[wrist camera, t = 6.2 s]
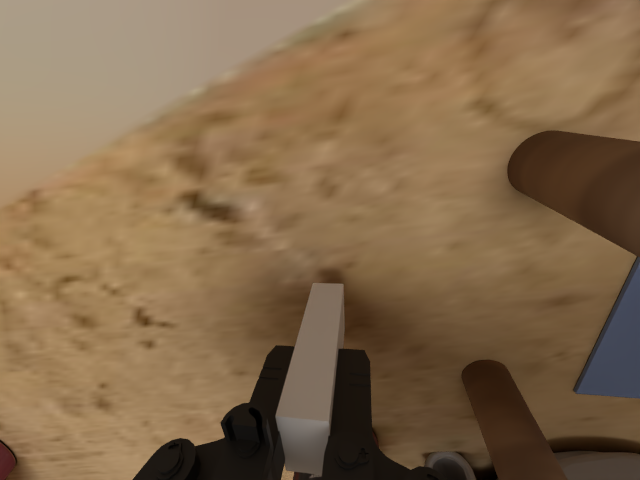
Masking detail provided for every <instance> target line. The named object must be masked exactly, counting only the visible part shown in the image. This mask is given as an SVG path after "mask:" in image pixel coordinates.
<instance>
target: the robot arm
mask: <svg viewBox="0 0 640 480" xmlns="http://www.w3.org/2000/svg"><path fill="white" fill-rule="evenodd" d="M344 332H345V315H344V284H335V283H313V284H312V288H311V291H310V295H309V298H308V302H307V305H306V309H305V313H304V316H303V320H302V323H301V327H300V330H299V334H298V337H297V341H296V345H295V347H293V346H277V345H276V346H275V347H274V348H273V349H272V351H271V352H270V353H269V354H268V355H267V357H266V360H265V363H264V365H263V369H262V371H261V373H260V376H259V379H258V381H257V384H256V386H255V389H254V391H253V394H252V397H251V399H250V402H249V403H243V404H240V405H238V406H236V407H234V408H233V409H232V410H230V411H229V412H228V413H227V414H226V415H225V417H224V418H223V420H222V421H221V426H222V429H223V432H224V435H225V438H223V439H220V440H218V441H214V442H210V443H206V444H202V445H198V446H194V444H193V443H192V442H191V441H189V440H188V439H182V438H179V439H175V440H171V441H170V442H168V443H166V444H165V445H163V446H161V447H160V448H159V449H158V450H157V451H156V452H155V453H154V454H153V455H152V456H151V458H150V459H149V460H148V461H147V463H146V464H145V465H144V466H143V467H142V469H141V470H140V471H139V472H138V474H137V475H136V476H135V477H134V478H133V480H281V476H282V472H283V467H284V463H285V467H286V470H287V471H294V472H302V473H310V474H317V475H322V478H321V480H448V479H447V478H446V477H444V476H443V475H442V474H441V473H440V472H438V471H436V470H434V469H432V468H430V467H421V466H419V467H416V468H414V469H412V470H410V469H408V468H406V467H404V466H402V465H400V464H398V463H396V462H394V461H392V460H391V459H389V458H388V457H386V456H385V455H384V454H383V453H382V452H381V451H380V449H379V448H378V446H377V445H376V443H375V440H374V438H373V433H372V416H371V380H370V361H369V359H368V357H367V355H366V353H365V351H364V350H353V349H343V344H344Z"/></svg>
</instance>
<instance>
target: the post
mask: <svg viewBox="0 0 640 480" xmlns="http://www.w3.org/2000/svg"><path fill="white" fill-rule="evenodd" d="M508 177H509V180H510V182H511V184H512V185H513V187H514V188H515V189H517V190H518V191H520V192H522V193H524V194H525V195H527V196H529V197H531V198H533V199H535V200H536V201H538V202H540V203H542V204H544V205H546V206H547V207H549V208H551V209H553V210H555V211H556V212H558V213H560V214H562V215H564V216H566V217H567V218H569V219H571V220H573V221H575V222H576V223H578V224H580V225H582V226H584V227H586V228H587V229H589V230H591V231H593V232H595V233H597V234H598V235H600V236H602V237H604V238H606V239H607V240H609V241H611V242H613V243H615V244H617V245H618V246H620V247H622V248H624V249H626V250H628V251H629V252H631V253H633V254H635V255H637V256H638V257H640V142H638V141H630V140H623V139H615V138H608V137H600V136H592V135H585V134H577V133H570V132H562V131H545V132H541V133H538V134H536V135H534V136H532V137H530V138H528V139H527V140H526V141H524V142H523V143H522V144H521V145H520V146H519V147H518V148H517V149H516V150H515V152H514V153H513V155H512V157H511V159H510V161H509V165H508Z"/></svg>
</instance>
